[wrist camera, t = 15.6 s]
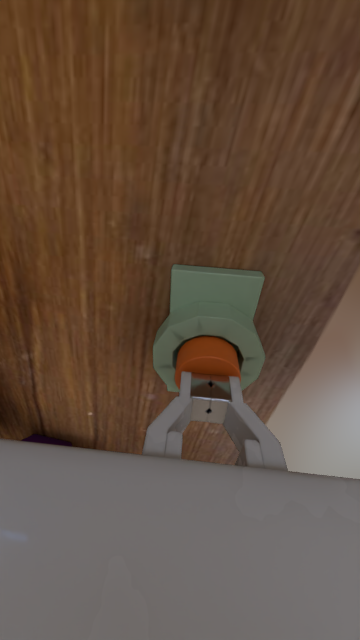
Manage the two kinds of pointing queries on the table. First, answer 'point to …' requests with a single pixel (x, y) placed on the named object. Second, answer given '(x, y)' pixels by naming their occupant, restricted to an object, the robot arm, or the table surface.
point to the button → (207, 358)
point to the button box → (211, 317)
